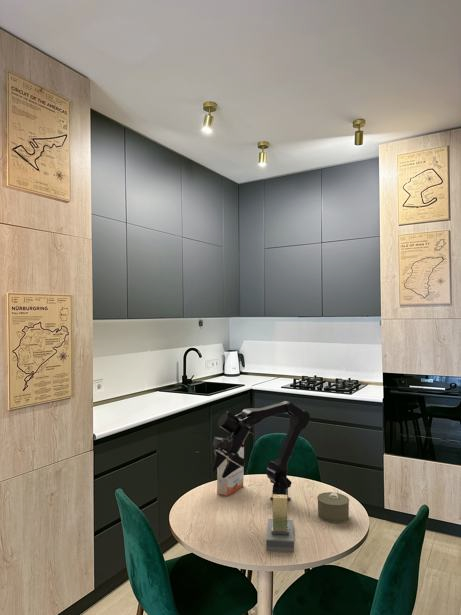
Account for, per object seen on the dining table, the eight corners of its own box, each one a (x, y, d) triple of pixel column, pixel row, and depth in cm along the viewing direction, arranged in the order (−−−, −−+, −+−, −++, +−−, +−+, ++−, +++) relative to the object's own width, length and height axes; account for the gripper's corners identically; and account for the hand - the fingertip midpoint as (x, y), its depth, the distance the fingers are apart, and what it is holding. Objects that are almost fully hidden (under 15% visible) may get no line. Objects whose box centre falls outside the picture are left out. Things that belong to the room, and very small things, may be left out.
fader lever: (271, 526, 156) (271, 493, 156) (288, 527, 155) (288, 493, 156) (271, 533, 151) (271, 498, 151) (288, 534, 150) (288, 499, 151)
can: (315, 520, 165) (315, 502, 165) (319, 507, 176) (319, 490, 176) (348, 525, 161) (348, 506, 161) (350, 511, 172) (349, 494, 173)
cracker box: (228, 496, 187) (228, 447, 188) (216, 493, 190) (216, 445, 191) (244, 486, 199) (244, 440, 199) (233, 483, 202) (233, 438, 203)
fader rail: (268, 522, 163) (268, 513, 163) (292, 523, 162) (292, 514, 162) (266, 551, 143) (266, 540, 143) (294, 552, 142) (293, 541, 142)
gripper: (213, 423, 182) (193, 457, 178) (233, 434, 165) (211, 472, 161) (233, 436, 186) (214, 469, 181) (254, 447, 169) (234, 485, 165)
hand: (217, 473), depth 172 cm, fingers open, 9 cm apart
